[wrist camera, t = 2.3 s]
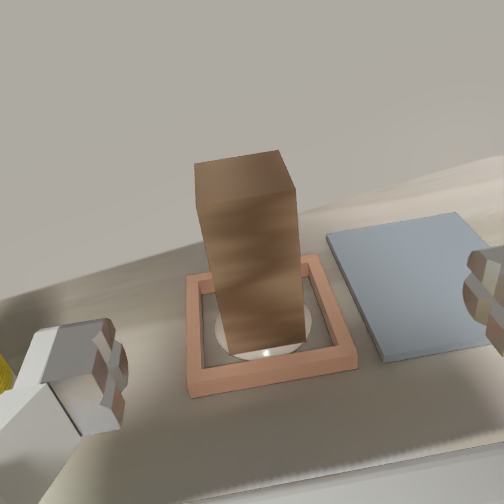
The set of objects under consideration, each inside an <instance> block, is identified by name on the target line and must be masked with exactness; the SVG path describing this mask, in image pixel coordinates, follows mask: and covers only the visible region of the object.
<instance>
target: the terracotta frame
mask: <svg viewBox="0 0 504 504" xmlns="http://www.w3.org/2000/svg"><path fill="white" fill-rule="evenodd" d="M300 258H301V273H302V277H306V276H309V278H310V281H311V284H312V286H313V289H314V292H315V295H316V297H317V300H318V303H319V306H320V308H321V311H322V314H323V317H324V320H325V322H326V325H327V328H328V331H329V333H330V336H331V339H332V342H333V344H334V346H331V347H325V348H320V349H314V350H308V351H303V352H297V353H293V352H294V351H296V350H297V349H298V348H300V347H301V346H302V345H303V343H298V344H292V345H287V346H281V347H275V348H270V349H264V350H258V351H253V352H247V353H241V354H236V355H232V356H234V357H236V358H238V359H241V360H245V361H246V362H241V363H235V364H229V365H224V366H218V367H212V368H207V369H205V365H204V342H203V320H202V297H201V295H202V294H207V293H213V292H215V289H214V284H213V280H212V275H211V272H206V273H200V274H194V275H188V276H186V384H187V388H188V391H189V394H190V397H191V398H196V397H202V396H207V395H213V394H218V393H224V392H230V391H235V390H241V389H246V388H252V387H258V386H263V385H269V384H274V383H280V382H285V381H291V380H297V379H302V378H308V377H313V376H319V375H325V374H330V373H336V372H341V371H347V370H353V369H358V352H357V350H356V347H355V345H354V342H353V340H352V338H351V335H350V333H349V330H348V328H347V326H346V323H345V321H344V318H343V316H342V313H341V311H340V309H339V306H338V304H337V301H336V299H335V296H334V294H333V292H332V289H331V287H330V284H329V282H328V280H327V277H326V275H325V272H324V270H323V267H322V265H321V263H320V260H319V258H318V255H317V254H311V255H305V256H300ZM304 315H305V330H306V339H307V338H308V336H309V334H310V331H311V326H312V321H311V314H310V311H309V309H308V307H307V306H306V304H305V303H304ZM215 335H216V338H217V341H218V343H219V344H220V346H221V347H222V348H223V349H224V350H225V351H226V352H227V353H229V351H228V346H227V342H226V338H225V333H224V329H223V324H222V320H221V315H220V312H219V314H218V316H217V318H216V321H215Z"/></svg>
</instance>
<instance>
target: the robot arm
mask: <svg viewBox="0 0 504 504" xmlns="http://www.w3.org/2000/svg"><path fill="white" fill-rule="evenodd" d="M467 267H468V268H469V269H470V270H471V273H470V275H469V276H468V277H467V278H466V279H465V280H464V283H463V290H462V294H463V299H464V304H465V306H466V309H467V311H468V313H469V314H470V315H471V317H472V318H473V320H474V321H476V322H478V323H481V324H483V325H485V326H486V332H485V335H486V337H487V338H488V339H489V341H490V342H491V343H492V345H493V346H494V347H495V348H496V350H497V351H498V352H499V354H500V355H501V356H502V357H504V245H500V246H495V247H490V248H484V249H479V250H474V251H472V252H471V253H470V255H469V256H468V261H467ZM115 331H116V330H115V328H114V326H113V324H112V322H111V320H110V319H108V318H102V319H96V320H90V321H84V322H77V323H71V324H65V325H62V326H55V327H49V328H43V329H39V330H38V331H37V332H36V333H35V334H34V336H33V339H32V341H31V344H30V346H29V349H28V351H27V354H26V356H25V359H24V361H23V364H22V366H21V369H20V371H19V374H18V377H17V379H16V382H15V384H14V387H13V389H12V390H7V391H4V392H3V393H2V394H1V395H0V504H38V503H39V501H40V500H41V498H42V497H43V495H44V494H45V492H46V491H47V490H48V488H49V487H50V485H51V484H52V482H53V481H54V479H55V478H56V477H57V475H58V474H59V472H60V471H61V469H62V468H63V466H64V465H65V464H66V462H67V461H68V459H69V458H70V456H71V455H72V453H73V452H74V451H75V449H76V448H77V446H78V445H79V443H80V442H81V440H82V438H81V437H86V436H90V435H95V434H99V433H104V432H109V431H113V430H118V429H121V426H122V419H123V412H124V405H125V401H124V399H123V397H122V395H121V392H122V391H123V390H124V388H125V387H126V386H127V383H128V361H127V357H126V353H125V350H124V348H123V346H122V344H121V343H119V342H117V341H116V340H114V337H115ZM181 504H504V442H499V443H494V444H489V445H483V446H478V447H473V448H468V449H463V450H458V451H452V452H447V453H442V454H437V455H431V456H426V457H421V458H416V459H411V460H405V461H400V462H395V463H390V464H385V465H379V466H374V467H369V468H364V469H359V470H353V471H348V472H343V473H338V474H332V475H327V476H322V477H317V478H312V479H306V480H301V481H296V482H291V483H286V484H280V485H275V486H270V487H265V488H259V489H254V490H249V491H244V492H238V493H233V494H228V495H223V496H218V497H212V498H207V499H202V500H197V501H191V502H186V503H181Z"/></svg>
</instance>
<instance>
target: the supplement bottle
mask: <svg viewBox="0 0 504 504" xmlns="http://www.w3.org/2000/svg"><path fill="white" fill-rule="evenodd" d="M16 379H17V377H16V375H15V374H14V372H13V371H12V369H11V368H10V367H9V365H8V363H7V362H6V361H5V359H4V358H3V356H2V355H1V354H0V395H1V394H2V393H3V392H4V391H7V390H12V389H13V387H14V384H15V382H16Z"/></svg>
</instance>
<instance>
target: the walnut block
mask: <svg viewBox="0 0 504 504" xmlns="http://www.w3.org/2000/svg"><path fill="white" fill-rule="evenodd" d="M194 167H195V168H194V170H195V195H196V209H197V213H198V217H199V222H200V226H201V231H202V235H203V240H204V244H205V249H206V253H207V257H208V262H209V266H210V271H211V275H212V280H213V284H214V289H215V293H216V298H217V302H218V306H219V311H220V315H221V320H222V324H223V329H224V333H225V338H226V342H227V346H228V351H229V355H236V354H241V353H247V352H253V351H258V350H264V349H270V348H275V347H281V346H287V345H292V344H298V343H304V342H306V330H305V315H304V301H303V287H302V273H301V258H300V244H299V230H298V216H297V202H296V189H295V187H294V185H293V182H292V180H291V177H290V175H289V173H288V170H287V168H286V166H285V164H284V161H283V159H282V157H281V154H280V152H279V150H275V151H269V152H263V153H257V154H251V155H244V156H238V157H232V158H226V159H220V160H215V161H208V162H202V163H196V164H194Z"/></svg>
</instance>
